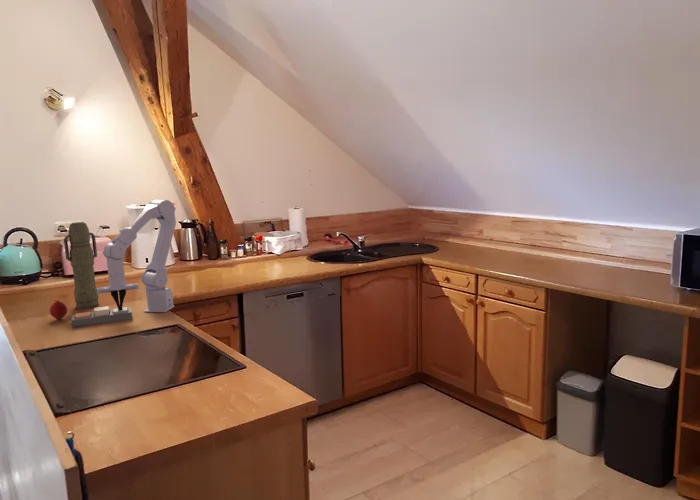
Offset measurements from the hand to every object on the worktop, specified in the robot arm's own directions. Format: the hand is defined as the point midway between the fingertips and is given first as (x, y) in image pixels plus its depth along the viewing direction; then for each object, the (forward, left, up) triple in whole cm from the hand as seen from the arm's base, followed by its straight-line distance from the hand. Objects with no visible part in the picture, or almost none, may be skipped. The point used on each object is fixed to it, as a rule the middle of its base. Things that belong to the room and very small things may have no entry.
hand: (120, 309), depth 218 cm
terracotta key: (+11, +7, -3) cm, 13 cm away
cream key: (+6, +3, -1) cm, 7 cm away
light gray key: (0, 0, -3) cm, 3 cm away
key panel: (+6, +3, -4) cm, 7 cm away
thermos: (+26, -19, -4) cm, 32 cm away
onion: (+25, +1, -4) cm, 25 cm away
